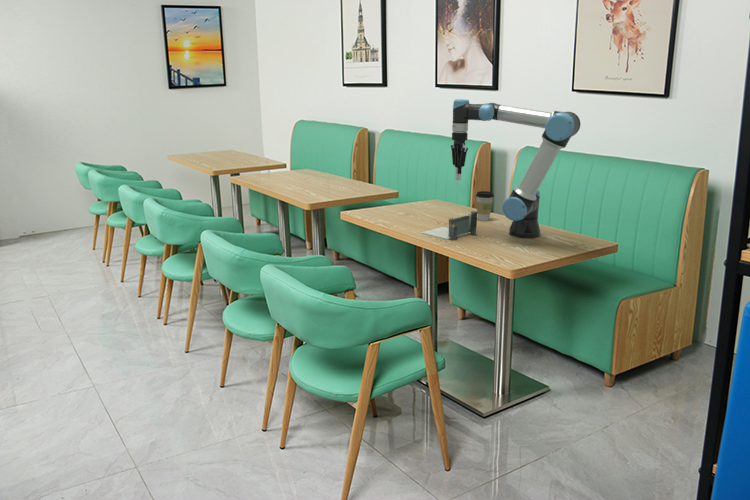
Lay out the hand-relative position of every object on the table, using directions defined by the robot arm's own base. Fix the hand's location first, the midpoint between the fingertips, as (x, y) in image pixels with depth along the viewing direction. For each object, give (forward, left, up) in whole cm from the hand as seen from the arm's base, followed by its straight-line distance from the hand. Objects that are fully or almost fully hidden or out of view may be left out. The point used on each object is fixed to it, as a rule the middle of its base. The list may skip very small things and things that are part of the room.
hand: (457, 180), depth 308 cm
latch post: (-9, +12, -26) cm, 31 cm away
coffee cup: (+7, -33, -27) cm, 43 cm away
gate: (-7, +5, -25) cm, 27 cm away
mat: (+1, +6, -26) cm, 27 cm away
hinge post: (-10, -2, -26) cm, 28 cm away
